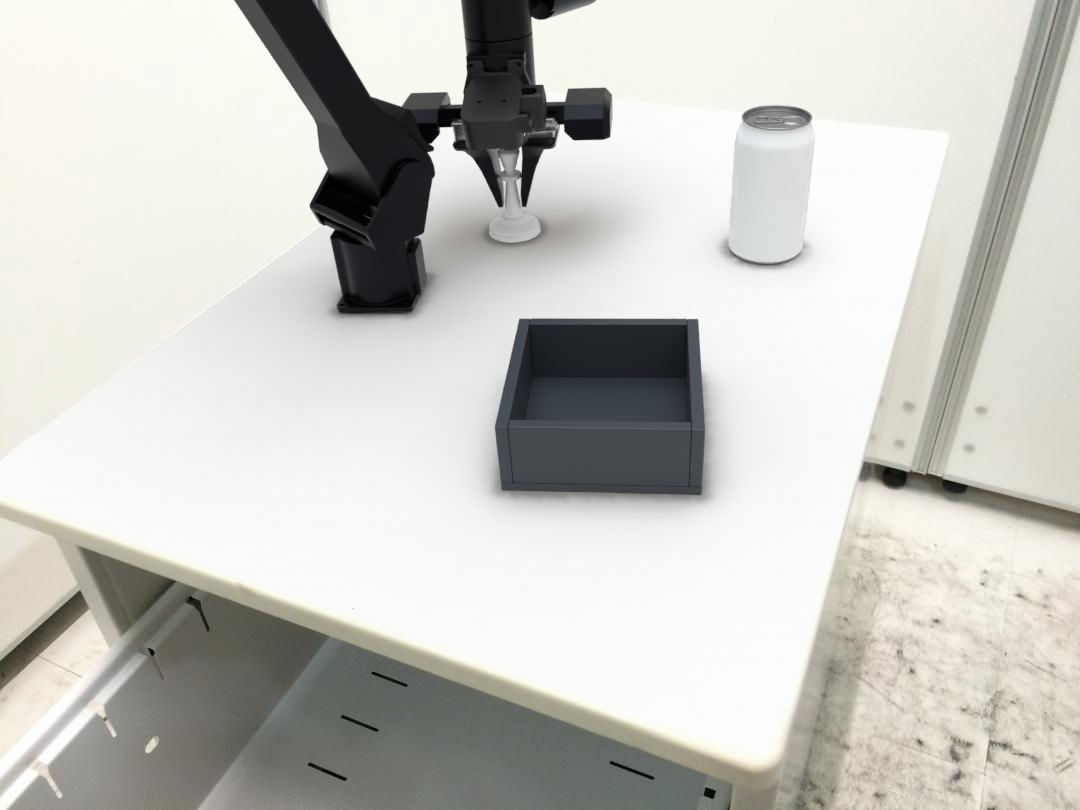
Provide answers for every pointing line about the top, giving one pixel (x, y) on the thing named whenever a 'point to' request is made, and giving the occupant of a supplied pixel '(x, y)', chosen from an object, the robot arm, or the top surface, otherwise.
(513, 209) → the chess piece
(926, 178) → the top surface
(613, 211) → the top surface
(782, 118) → the can
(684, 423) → the dark grey storage bin
